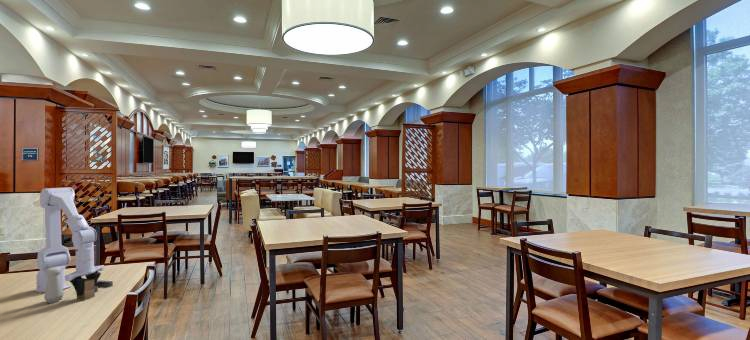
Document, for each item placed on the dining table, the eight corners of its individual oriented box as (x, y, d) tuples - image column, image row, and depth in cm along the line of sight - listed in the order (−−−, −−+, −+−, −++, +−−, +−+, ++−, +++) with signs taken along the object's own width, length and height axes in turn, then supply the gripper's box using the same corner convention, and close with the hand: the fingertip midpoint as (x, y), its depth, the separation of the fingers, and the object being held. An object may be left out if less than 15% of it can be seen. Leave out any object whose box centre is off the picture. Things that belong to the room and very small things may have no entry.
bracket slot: (80, 291, 153) (80, 286, 153) (99, 284, 161) (99, 280, 161) (94, 292, 152) (94, 287, 152) (112, 285, 160) (112, 281, 160)
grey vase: (52, 304, 139) (51, 270, 139) (40, 303, 140) (39, 269, 140) (67, 298, 145) (67, 266, 144) (56, 297, 146) (55, 265, 146)
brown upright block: (76, 299, 144) (76, 281, 144) (86, 295, 148) (86, 278, 148) (85, 300, 143) (84, 282, 143) (94, 296, 147) (94, 279, 147)
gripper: (75, 264, 137) (76, 300, 138) (109, 255, 152) (110, 287, 152) (59, 264, 139) (60, 299, 139) (95, 254, 153) (96, 286, 153)
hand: (85, 293), depth 146 cm, fingers closed on brown upright block, 4 cm apart
